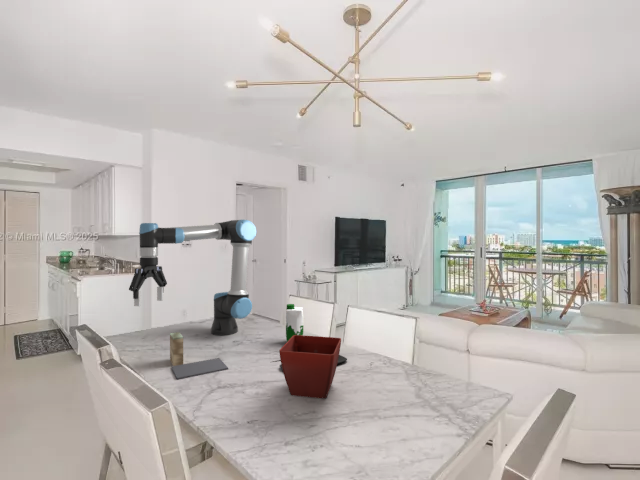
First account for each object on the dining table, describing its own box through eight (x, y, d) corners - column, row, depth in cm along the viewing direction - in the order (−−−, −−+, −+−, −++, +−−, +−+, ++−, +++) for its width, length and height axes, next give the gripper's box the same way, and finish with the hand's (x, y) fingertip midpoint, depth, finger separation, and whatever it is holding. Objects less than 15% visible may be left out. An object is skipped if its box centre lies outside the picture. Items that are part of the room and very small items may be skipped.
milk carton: (286, 340, 185) (286, 303, 185) (303, 340, 185) (303, 303, 184) (284, 345, 176) (284, 306, 176) (302, 345, 176) (302, 306, 176)
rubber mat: (219, 359, 157) (219, 357, 157) (228, 369, 145) (228, 367, 145) (171, 367, 146) (171, 366, 146) (177, 379, 134) (177, 378, 134)
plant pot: (333, 405, 114) (333, 354, 114) (278, 399, 118) (278, 350, 118) (341, 381, 133) (341, 337, 133) (293, 377, 137) (293, 334, 137)
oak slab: (179, 358, 158) (179, 332, 158) (183, 364, 150) (183, 336, 150) (170, 359, 156) (169, 333, 156) (173, 366, 148) (173, 338, 148)
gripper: (162, 255, 172) (162, 298, 172) (119, 258, 148) (119, 308, 148) (174, 255, 169) (174, 298, 170) (133, 258, 146) (133, 309, 146)
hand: (149, 303), depth 159 cm, fingers open, 13 cm apart
